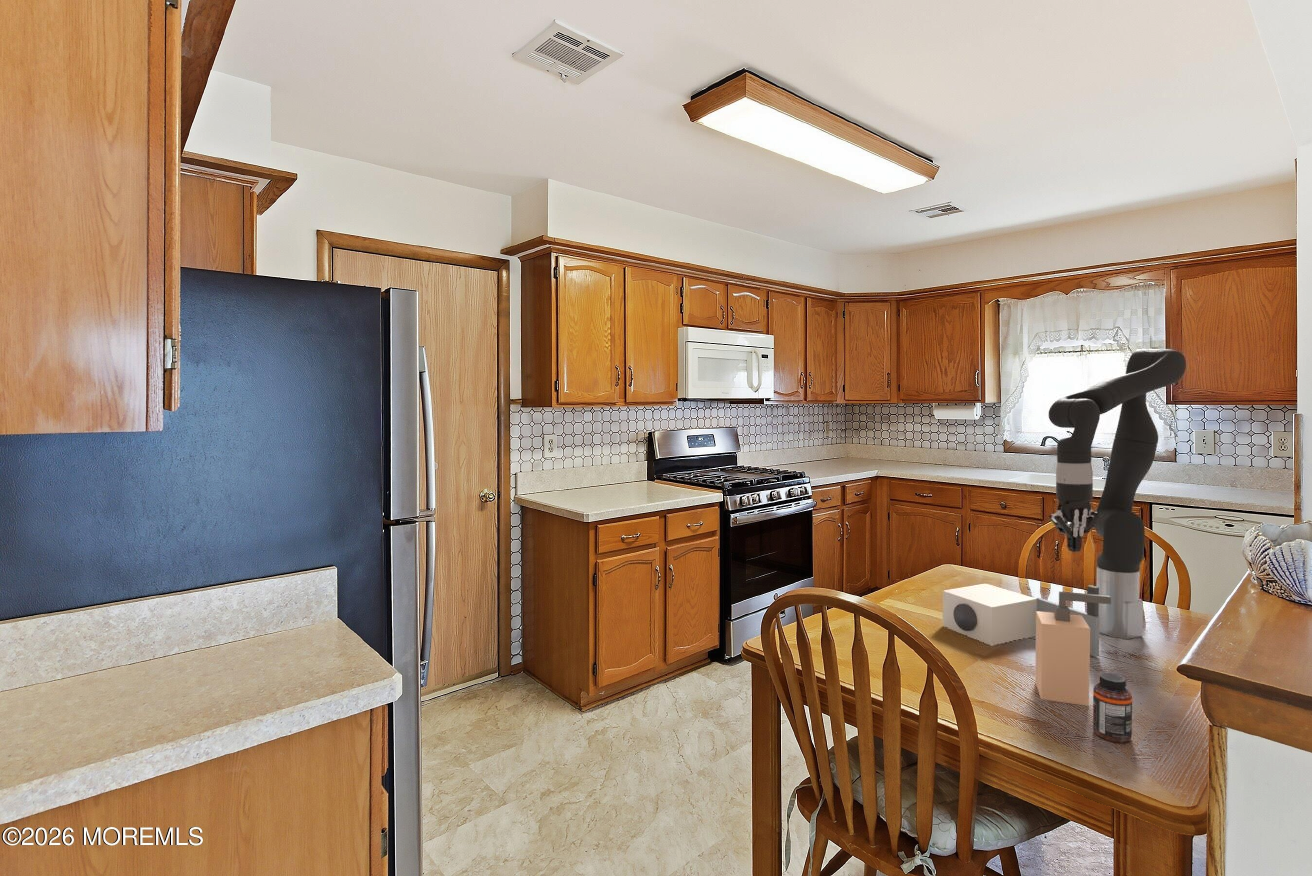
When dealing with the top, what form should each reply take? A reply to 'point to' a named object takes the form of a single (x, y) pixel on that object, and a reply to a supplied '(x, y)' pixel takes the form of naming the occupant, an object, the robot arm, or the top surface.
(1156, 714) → the top surface
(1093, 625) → the side door
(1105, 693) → the supplement bottle
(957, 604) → the camera box
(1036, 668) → the soap dispenser
